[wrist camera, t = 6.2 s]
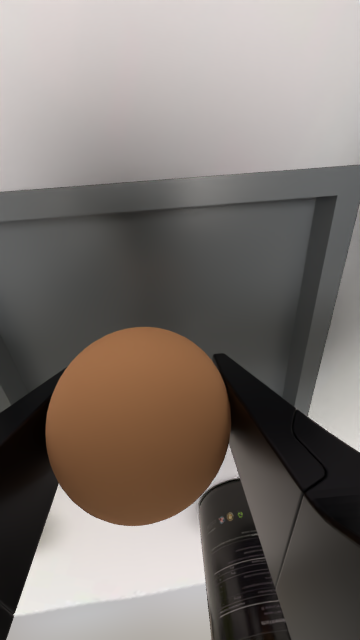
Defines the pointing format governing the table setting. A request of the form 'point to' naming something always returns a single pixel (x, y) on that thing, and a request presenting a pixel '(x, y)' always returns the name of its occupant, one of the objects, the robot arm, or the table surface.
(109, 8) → the table surface
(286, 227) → the tray
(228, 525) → the supplement bottle
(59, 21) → the table surface
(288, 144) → the table surface
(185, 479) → the ball
